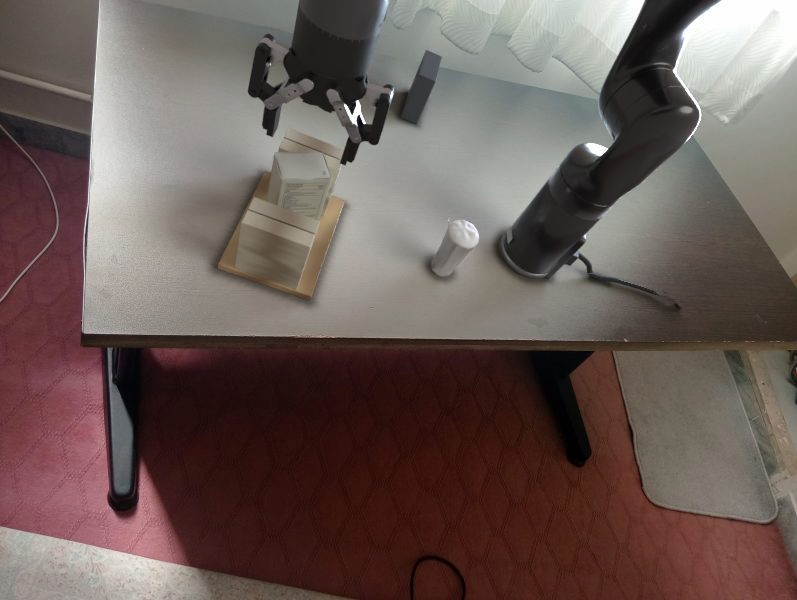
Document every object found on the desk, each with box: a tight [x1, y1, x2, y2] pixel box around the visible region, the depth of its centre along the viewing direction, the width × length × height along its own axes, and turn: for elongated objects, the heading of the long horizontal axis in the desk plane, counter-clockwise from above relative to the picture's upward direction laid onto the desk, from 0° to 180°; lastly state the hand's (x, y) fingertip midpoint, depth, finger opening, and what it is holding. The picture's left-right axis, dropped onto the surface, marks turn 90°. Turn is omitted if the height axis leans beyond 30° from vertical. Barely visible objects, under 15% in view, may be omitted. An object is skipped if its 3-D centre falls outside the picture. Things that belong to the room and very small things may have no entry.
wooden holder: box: [217, 127, 346, 301], centre depth 69 cm, size 12×18×10 cm, turn 169°
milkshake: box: [430, 218, 480, 278], centre depth 75 cm, size 5×5×10 cm
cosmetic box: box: [266, 151, 332, 221], centre depth 68 cm, size 6×4×12 cm
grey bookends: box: [400, 49, 443, 125], centre depth 93 cm, size 19×8×9 cm, turn 79°
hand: (308, 146), depth 61 cm, fingers open, 8 cm apart
